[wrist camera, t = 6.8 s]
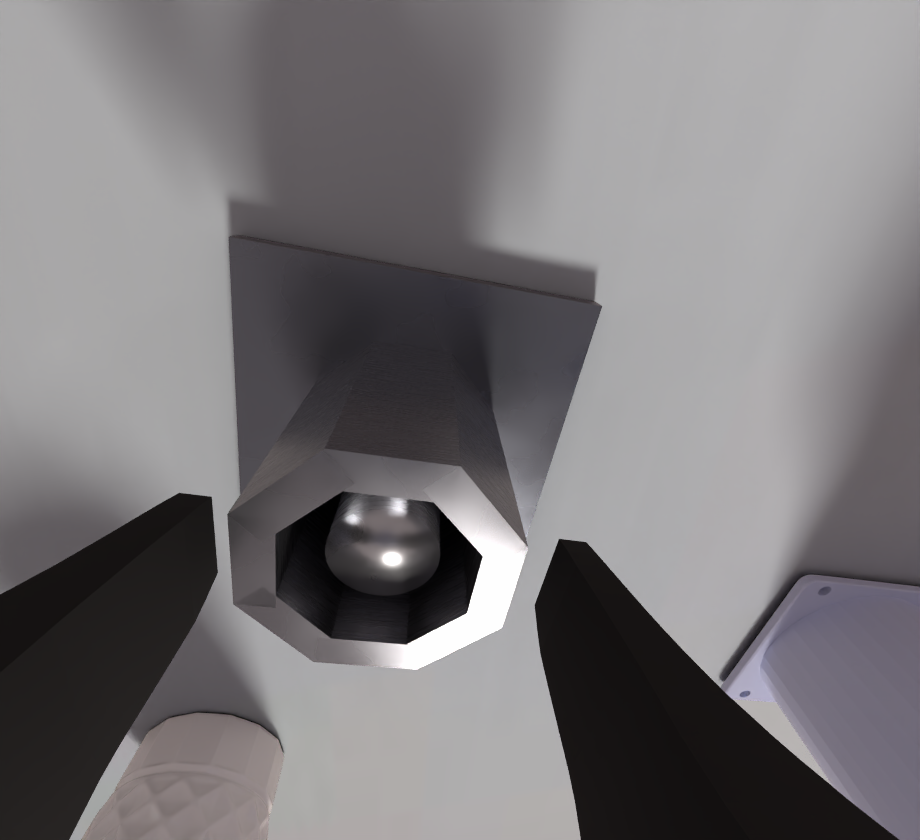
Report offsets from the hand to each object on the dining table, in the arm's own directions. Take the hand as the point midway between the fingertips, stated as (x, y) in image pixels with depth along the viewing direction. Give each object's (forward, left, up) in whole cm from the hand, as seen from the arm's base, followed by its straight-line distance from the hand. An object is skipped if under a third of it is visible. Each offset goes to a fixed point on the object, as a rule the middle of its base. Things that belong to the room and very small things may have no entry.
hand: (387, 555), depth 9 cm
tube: (0, 0, -5) cm, 5 cm away
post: (0, 0, -6) cm, 6 cm away
